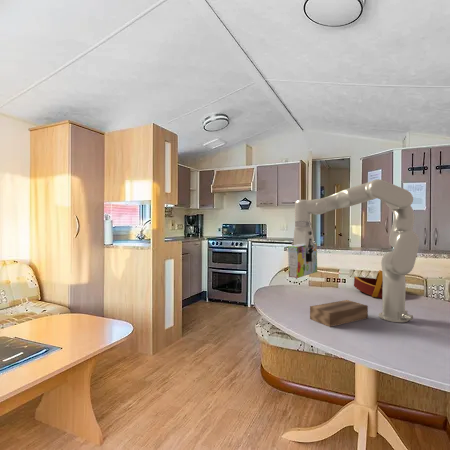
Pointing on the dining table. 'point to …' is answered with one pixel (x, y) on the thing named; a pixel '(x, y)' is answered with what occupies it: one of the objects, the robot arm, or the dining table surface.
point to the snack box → (301, 261)
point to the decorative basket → (370, 285)
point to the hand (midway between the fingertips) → (303, 260)
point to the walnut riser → (338, 312)
